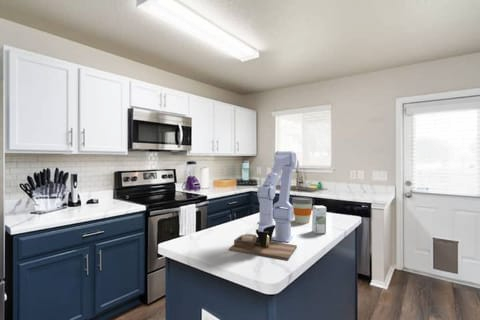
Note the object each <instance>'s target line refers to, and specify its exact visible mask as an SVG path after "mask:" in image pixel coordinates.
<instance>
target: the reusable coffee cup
mask: <svg viewBox="0 0 480 320" xmlns="http://www.w3.org/2000/svg"><path fill="white" fill-rule="evenodd" d="M291 202H292V203H291V204H292V206H293V207H294V218H293V219H294V222H295V223H296V224H297V223H298V224H309V223H310V221H311V215H312V212H313V205H312V204H313V198H312V197H308V196H307V197H306V196H294V197H292V201H291Z"/></svg>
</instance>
